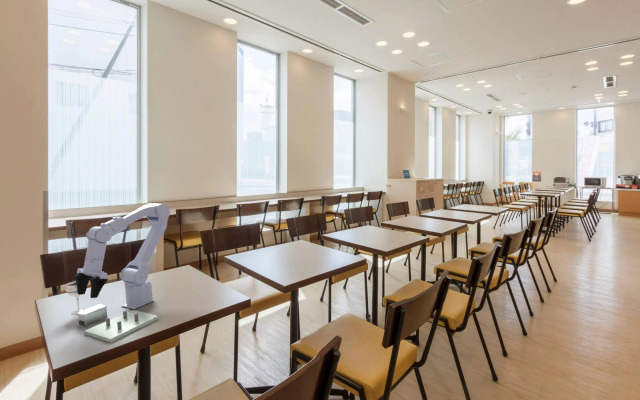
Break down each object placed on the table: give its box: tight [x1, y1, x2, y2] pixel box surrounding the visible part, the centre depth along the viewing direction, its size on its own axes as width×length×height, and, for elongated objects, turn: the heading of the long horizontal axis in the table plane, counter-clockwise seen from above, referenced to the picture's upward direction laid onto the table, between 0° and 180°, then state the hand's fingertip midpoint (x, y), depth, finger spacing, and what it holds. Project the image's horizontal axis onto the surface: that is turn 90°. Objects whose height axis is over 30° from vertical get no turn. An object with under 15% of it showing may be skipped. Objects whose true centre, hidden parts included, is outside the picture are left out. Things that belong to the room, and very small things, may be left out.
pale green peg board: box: [83, 309, 159, 343], centre depth 119 cm, size 18×14×4 cm
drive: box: [77, 304, 108, 328], centre depth 122 cm, size 8×4×5 cm, turn 157°
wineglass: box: [65, 280, 86, 316], centre depth 131 cm, size 7×7×12 cm
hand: (87, 296), depth 121 cm, fingers open, 7 cm apart
